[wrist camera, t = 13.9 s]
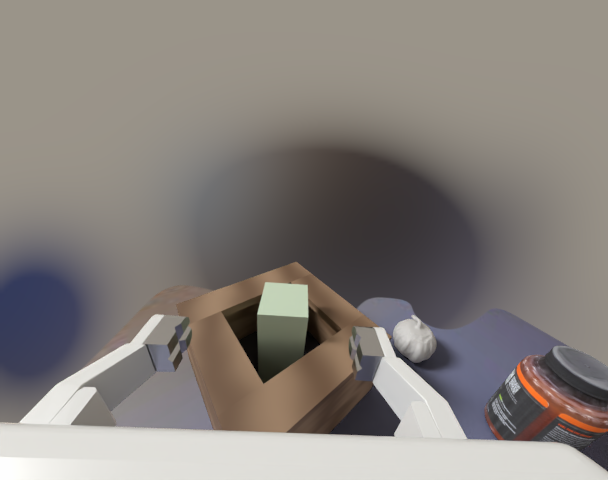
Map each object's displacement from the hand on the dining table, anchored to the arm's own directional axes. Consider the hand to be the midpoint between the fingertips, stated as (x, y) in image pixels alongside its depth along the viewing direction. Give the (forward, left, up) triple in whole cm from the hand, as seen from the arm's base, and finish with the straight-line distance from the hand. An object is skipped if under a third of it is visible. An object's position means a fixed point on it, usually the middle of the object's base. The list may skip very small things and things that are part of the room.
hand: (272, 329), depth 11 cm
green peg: (-5, -6, -18) cm, 20 cm away
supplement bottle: (-22, +13, -18) cm, 31 cm away
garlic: (-22, +1, -18) cm, 29 cm away
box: (-5, -7, -18) cm, 20 cm away
